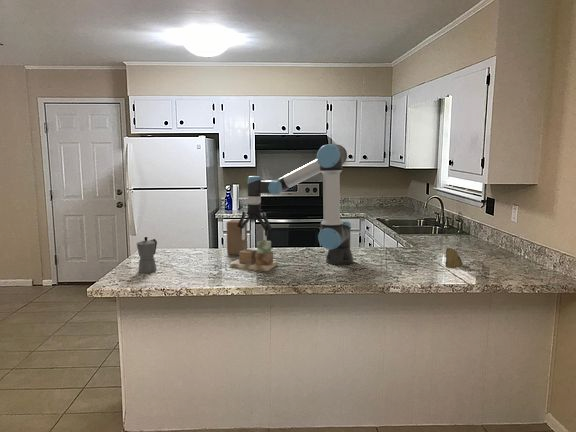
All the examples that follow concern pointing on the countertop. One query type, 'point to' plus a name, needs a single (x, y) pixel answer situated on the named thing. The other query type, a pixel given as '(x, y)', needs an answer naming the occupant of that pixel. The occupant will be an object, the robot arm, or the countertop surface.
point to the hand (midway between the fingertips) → (254, 240)
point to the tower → (264, 253)
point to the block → (235, 238)
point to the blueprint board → (252, 265)
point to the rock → (452, 258)
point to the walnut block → (247, 256)
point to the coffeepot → (147, 255)
